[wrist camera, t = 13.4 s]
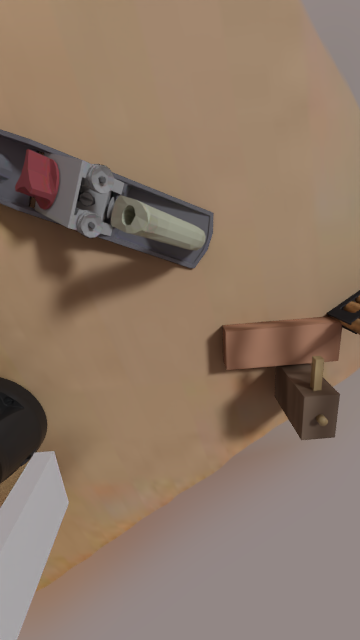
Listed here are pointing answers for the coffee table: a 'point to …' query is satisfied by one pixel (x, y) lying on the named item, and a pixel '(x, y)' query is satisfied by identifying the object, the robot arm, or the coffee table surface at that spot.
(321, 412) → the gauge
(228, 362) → the board
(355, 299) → the ammunition clip
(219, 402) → the coffee table surface
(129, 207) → the hand plane
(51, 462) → the robot arm
